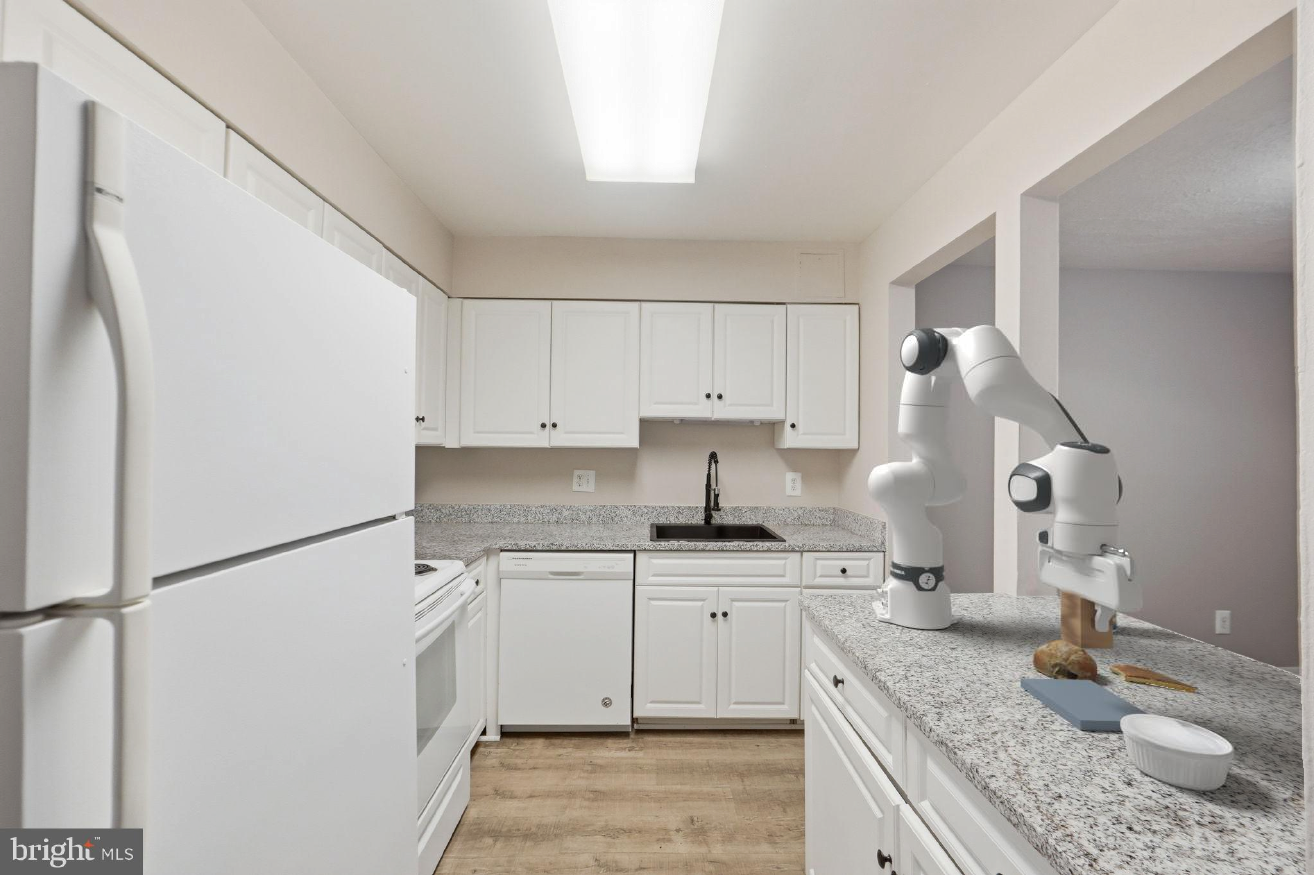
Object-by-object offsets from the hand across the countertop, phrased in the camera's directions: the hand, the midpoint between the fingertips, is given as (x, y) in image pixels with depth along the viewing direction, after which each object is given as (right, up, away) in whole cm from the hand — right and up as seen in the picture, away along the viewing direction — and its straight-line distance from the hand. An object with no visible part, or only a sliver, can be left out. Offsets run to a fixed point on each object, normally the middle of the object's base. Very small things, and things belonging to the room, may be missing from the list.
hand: (1086, 624), depth 97 cm
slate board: (0, -14, 0) cm, 14 cm away
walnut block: (0, -3, 0) cm, 3 cm away
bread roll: (+7, -14, +15) cm, 22 cm away
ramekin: (-2, -14, -19) cm, 24 cm away
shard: (+21, -15, +12) cm, 28 cm away
